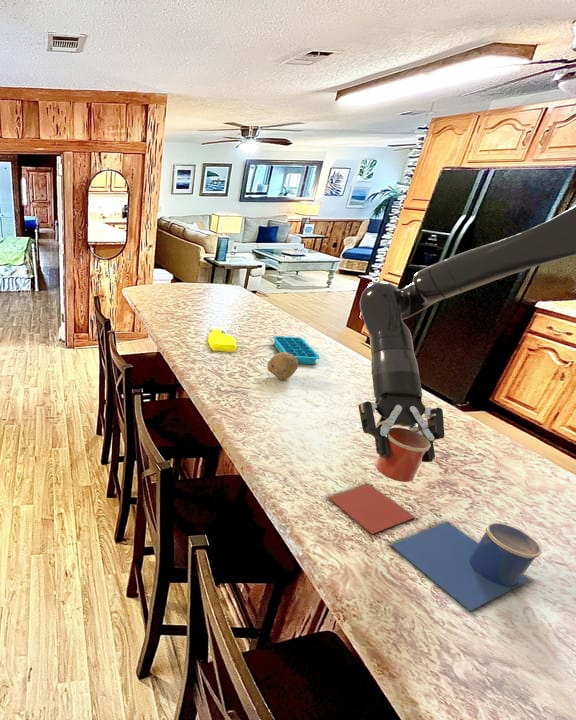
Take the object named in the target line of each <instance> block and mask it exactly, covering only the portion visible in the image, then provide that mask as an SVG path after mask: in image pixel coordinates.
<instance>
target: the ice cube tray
mask: <svg viewBox="0 0 576 720" xmlns="http://www.w3.org/2000/svg"><path fill="white" fill-rule="evenodd" d="M272 339H273V340H274V343H273V344H274V347H275V348H276V350H278V353H280V352H287V353H290V354H292V355H293V356H294V357H295V358H296V359H297V361H298V364H300V365H301V364H303V365H315V364H316V362H317V360H319V359H320V358H321V356H320V354H318V353H317V352H316V351H315V350H314V348H312V347H311V346H310V345H309V344H308V342H306V340H305V339H304V338H303V337H299V336H277V335H275V336H273V337H272Z"/></svg>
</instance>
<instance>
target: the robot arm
mask: <svg viewBox="0 0 576 720" xmlns="http://www.w3.org/2000/svg"><path fill="white" fill-rule="evenodd" d="M574 256H576V199H574V201H573V202H572V204H571V205H570V208H569V209H568V210H565V211H564V212H561V213H560V214H559V215H556V216H554V217H553V218H551V219H549V220H547V221H545V222H543V223H540V224H538V225H536V226H534V227H531V228H529V229H527V230H524V231H522V232H519V233H516V234H515V235H512V236H509V237H505V238H503V239H500V240H498V241H497V240H496V241H494V242H491V243H487V244H485V245H481V246H477V247H475V248H472V249H468V250H466V251H463V252H460V253H458V254H454V255H453V256H450V257H448V258H446V259H443V260H441V261H438V262H436V263H434V264H431V265H429V266H427V267H424V268H423V269H420V270H419V271H417V272H416V273H415V274H414V275H413V277H412V283H410V284H409V285H406V286H405V287H403V288H401V289H400V288H398V287H397V286H396V285H394V284H392V283H390V282H387V281H376V282H373V283H371V284H369V285H368V286H367V287H366V288H365V289H364V290H363V291H362V292H361V295H360V298H359V299H360V300H359V309H360V314H361V318H362V320H363V323H364V326H365V328H366V332H367V333H368V336H369V345H370V354H371V355H370V356H371V362H370V364H371V365H370V367H371V376H372V386H373V395H374V398H375V400H374V402H371V401H368V400H367V401H364V402H362V403H359V404H358V411H359V417H360V422H361V429H362V432H363V433H364V434H366V435H370V436H373V438H374V441H375V450H376V453H377V455H378V456H379V455H380V457H382V458H387V457H390V448H389V440H388V437H387V433H388V431H389V430H390V428H393V426H401V427H405V428H407V429H408V430H412V431H414V432H417V433H419V434H421V435H422V436H424V437H425V438H427V439H428V440H429V442H430V444H431V446H430V448H429V450H427V451H426V453H425V455H424V458H423V460H422V462H421V463H432V462H433V461H434V459H435V458H436V454H435V447H434V442H435V441H437V440H441V439H444V438H445V422H444V421H445V420H444V410H443V408H441V407H434V408H433V407H427V406H425V405H424V404H423V401H422V400H423V399H422V398H423V390H422V384H421V377H420V370H419V363H418V360H417V357H416V353H415V350H414V348H415V347H414V343H413V342H414V341H413V335H412V333H411V330H410V328H409V327H408V326H407V325H406V323H405V321H404V320H406V319H409V318H411V317H413V316H415V315H417V314H419V313H421V312H422V311H424V310H425V309H427V308H429V307H430V306H432V305H434V304H436V303H437V302H440V301H442V300H445V299H448V298H451V297H454V296H456V295H459V294H463V293H464V292H468V291H470V290H472V289H473V290H474V289H476V288H479V287H481V286H483V285H486V284H489V283H492V282H494V281H496V280H501V279H503V278H505V277H508V276H511V275H514V274H517V273H520V272H523V271H526V270H529V269H533V268H535V267H538V266H542V265H546V264H549V263H552V262H556V261H559V260H563V259H566V258H570V257H574ZM376 412H377V413H378V415H379V416H380V418H379V419H378V421H377V423H376V419H375V415H374V413H376ZM423 415H424V417H423ZM425 419H426V420H427V422H426V421H425Z"/></svg>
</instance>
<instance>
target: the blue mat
mask: <svg viewBox="0 0 576 720" xmlns="http://www.w3.org/2000/svg"><path fill="white" fill-rule="evenodd" d="M478 543H479V542H476V541H475V540H473V538H471V537H469V536H468V535H467V534H465V533H464V532H462V531H461V530H459V529H458V528H457V527H455V526H453V525H452V524H450V523H449V522H448V521H446V522H443V523H441V524H439V525H437V526H434V527H431V528H429V529H426V530H424V531H422V532H419V533H417V534H414V535H412V536H409V537H407V538H404V539H402V540H399V541H397V542H395V543H392V544H390V547H392V549H394V550H395V551H396V552H398V553H399V554H400V555H401V556H402V557H403V558H405V559H406V560H407V561H409V563H411V564H412V565H413V566H415V567H416V569H418V570H419V571H421V572H422V573H423V575H426V576H427V577H428V578H429V579H430V581H433V582H434V583H435V584H436V585H437V586H439V587H440V588H441V589H442V590H443V591H444V592H445V593H447V594H448V595H449V596H450V597H451V598H453V599H454V600H455V601H456V602H458V603H459V604H460V605H461V606H463V607H464V608H465V609H466V610H468V611H469V612H471V611H473V610H475V609H477V608H479V607H481V606H483V605H485V604H486V603H489V602H490V601H492V600H494V599H496V598H498V597H500V596H502V595H503V594H505V593H507V592H509V591H511V590H513V589H515V588H517V587H518V586H519V587H520V586H521V585H522V584H525V583H526V582H528V581H530V578H529V577H527V576H525V574H523V575H522V577H521V578H520V579H519V581H518V582H517V583H516V585H514V586H503V585H499V584H496V583H494V582H492V581H490V580H488V579H486V578H485V577H483V576H482V575H481V574H479V573H478V572H477V571H476V570H475V569H474V568H473V567H472V565H471V563H470V560H469V559H470V556H471V555H472V553H473V551H474V550H475V548H476V547H477V545H478Z"/></svg>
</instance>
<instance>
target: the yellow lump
mask: <svg viewBox="0 0 576 720" xmlns="http://www.w3.org/2000/svg"><path fill="white" fill-rule="evenodd" d="M210 330H211V332H210V333H209V335H208V337H207V341H208V344H209V347H210V349H211V350H213V351H214V352H227V353H234V352H235V351H236V350H237V347H238V344H237V341H236V339H235V337H234V336H232V335H230V334H226V333H228V331H227V330H228V327H227V326H210ZM223 332H225V333H223Z"/></svg>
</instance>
